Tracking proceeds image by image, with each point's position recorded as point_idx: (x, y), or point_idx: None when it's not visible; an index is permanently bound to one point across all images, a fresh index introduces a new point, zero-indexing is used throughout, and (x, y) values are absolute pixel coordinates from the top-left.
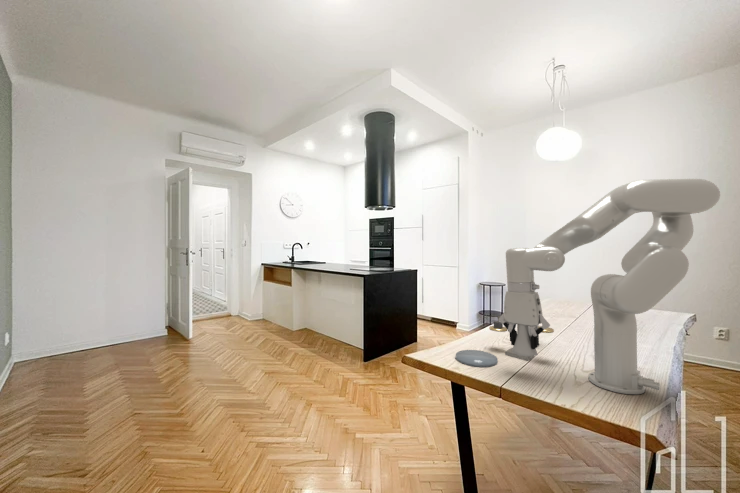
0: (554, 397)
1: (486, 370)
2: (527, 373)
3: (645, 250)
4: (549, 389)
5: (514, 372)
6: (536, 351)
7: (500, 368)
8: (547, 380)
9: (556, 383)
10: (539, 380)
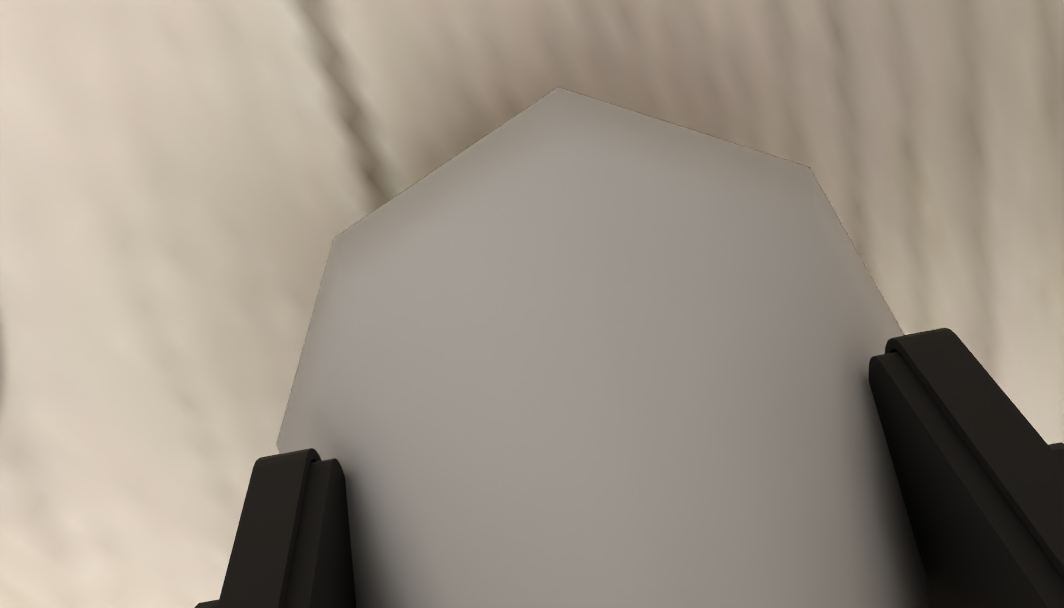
0: (1057, 424)
1: (101, 495)
2: (504, 60)
3: None
4: (959, 295)
5: (361, 211)
6: (872, 308)
7: (126, 266)
8: (843, 40)
9: (977, 27)
10: (760, 150)
